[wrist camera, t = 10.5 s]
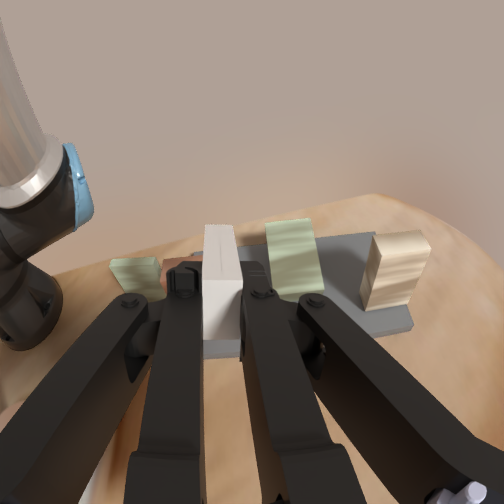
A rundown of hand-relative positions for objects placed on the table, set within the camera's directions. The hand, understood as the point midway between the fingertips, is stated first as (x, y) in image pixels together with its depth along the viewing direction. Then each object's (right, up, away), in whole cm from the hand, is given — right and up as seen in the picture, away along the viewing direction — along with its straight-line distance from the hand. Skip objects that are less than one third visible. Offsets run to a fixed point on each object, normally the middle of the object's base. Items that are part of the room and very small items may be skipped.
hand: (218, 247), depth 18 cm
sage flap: (+8, -6, +20) cm, 22 cm away
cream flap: (+19, -6, +20) cm, 28 cm away
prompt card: (-11, -8, +24) cm, 28 cm away
